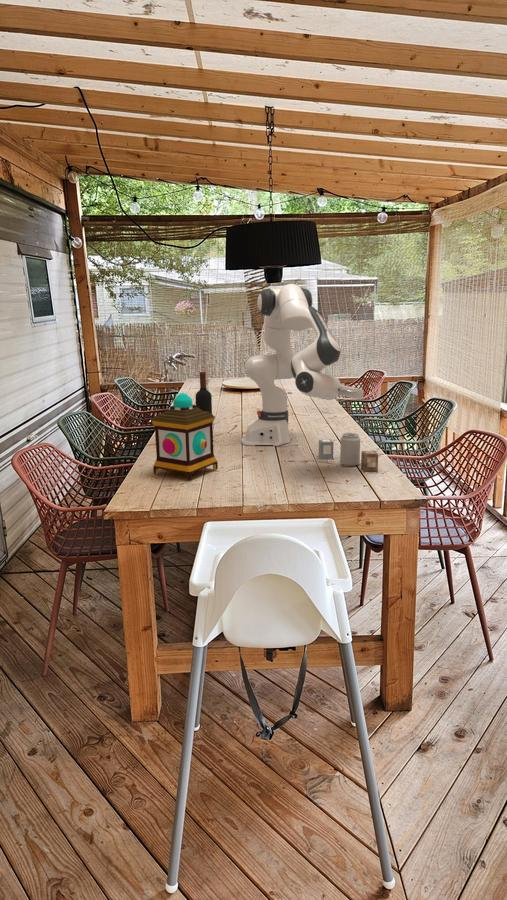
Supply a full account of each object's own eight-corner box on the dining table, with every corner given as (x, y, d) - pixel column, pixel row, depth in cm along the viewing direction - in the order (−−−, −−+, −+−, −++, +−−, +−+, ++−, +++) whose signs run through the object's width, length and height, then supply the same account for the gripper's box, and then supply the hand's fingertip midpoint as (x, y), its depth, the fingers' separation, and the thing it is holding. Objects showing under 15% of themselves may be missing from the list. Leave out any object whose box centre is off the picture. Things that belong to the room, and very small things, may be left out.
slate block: (320, 459, 233) (321, 442, 231) (318, 456, 238) (318, 439, 236) (333, 459, 233) (333, 442, 231) (330, 455, 238) (331, 439, 236)
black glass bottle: (206, 419, 316) (204, 363, 309) (224, 421, 309) (223, 364, 302) (190, 423, 306) (188, 366, 299) (209, 425, 299) (207, 367, 292)
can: (360, 462, 228) (361, 432, 225) (358, 467, 221) (359, 436, 218) (341, 461, 230) (342, 431, 227) (338, 466, 223) (339, 435, 220)
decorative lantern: (190, 483, 205) (186, 398, 198) (148, 475, 215) (143, 394, 208) (223, 469, 221) (220, 390, 214) (182, 462, 232) (178, 387, 224)
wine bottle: (194, 436, 277) (191, 372, 269) (201, 432, 284) (199, 371, 276) (208, 437, 274) (206, 373, 266) (215, 433, 281) (213, 371, 273)
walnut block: (364, 473, 214) (364, 454, 212) (360, 469, 219) (361, 450, 217) (377, 472, 214) (378, 453, 212) (374, 468, 219) (374, 450, 217)
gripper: (355, 383, 203) (373, 388, 214) (307, 374, 215) (326, 379, 226) (350, 401, 204) (369, 405, 214) (303, 391, 216) (322, 395, 227)
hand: (346, 391), depth 220 cm, fingers closed
